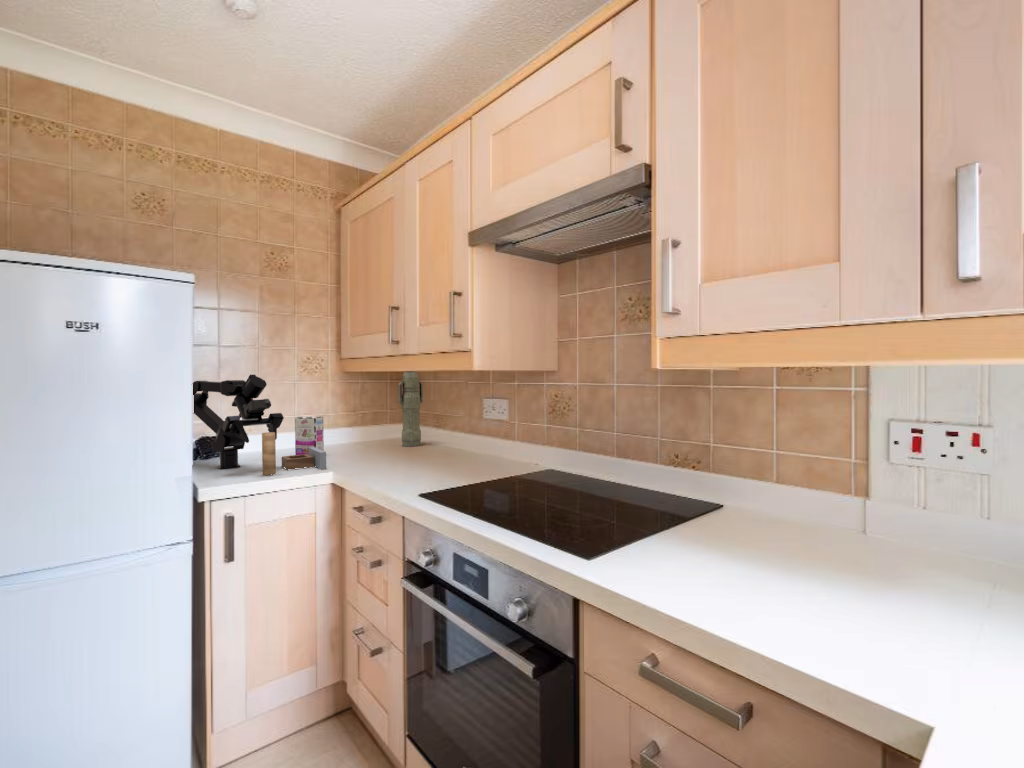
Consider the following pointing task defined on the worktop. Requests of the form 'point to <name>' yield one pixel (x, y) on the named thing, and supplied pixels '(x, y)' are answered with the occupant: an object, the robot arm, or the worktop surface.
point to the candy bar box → (308, 434)
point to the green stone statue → (411, 408)
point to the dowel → (268, 453)
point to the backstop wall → (318, 457)
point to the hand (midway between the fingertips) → (262, 440)
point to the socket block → (297, 461)
